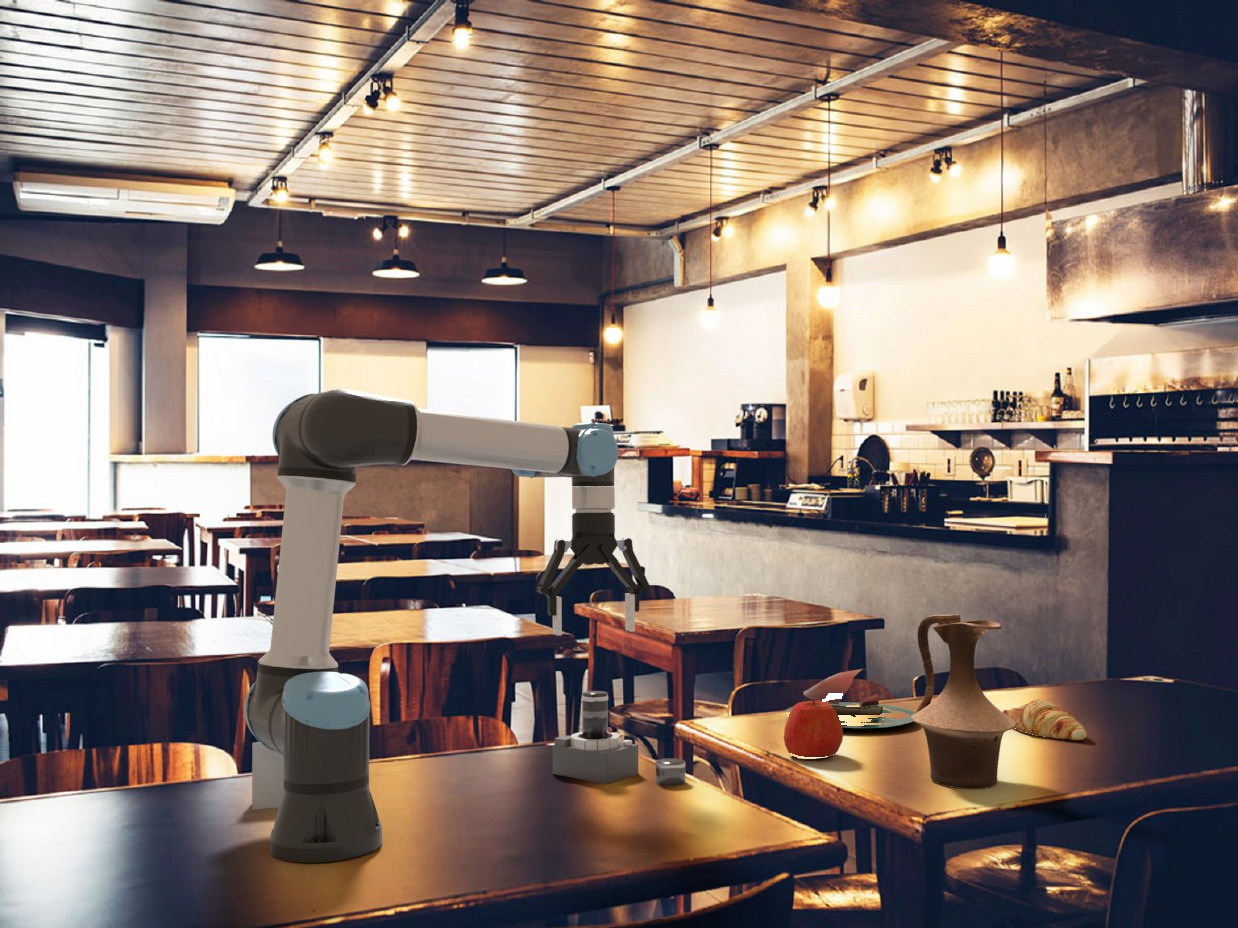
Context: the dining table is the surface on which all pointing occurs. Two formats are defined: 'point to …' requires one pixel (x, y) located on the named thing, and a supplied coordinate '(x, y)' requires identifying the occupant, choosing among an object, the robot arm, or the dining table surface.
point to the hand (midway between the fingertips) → (594, 632)
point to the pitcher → (960, 709)
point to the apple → (813, 730)
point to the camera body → (595, 758)
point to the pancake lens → (670, 772)
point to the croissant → (1046, 721)
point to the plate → (834, 692)
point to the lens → (594, 715)
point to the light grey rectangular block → (266, 777)
